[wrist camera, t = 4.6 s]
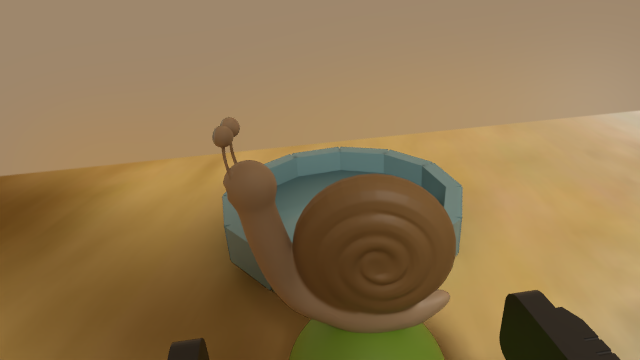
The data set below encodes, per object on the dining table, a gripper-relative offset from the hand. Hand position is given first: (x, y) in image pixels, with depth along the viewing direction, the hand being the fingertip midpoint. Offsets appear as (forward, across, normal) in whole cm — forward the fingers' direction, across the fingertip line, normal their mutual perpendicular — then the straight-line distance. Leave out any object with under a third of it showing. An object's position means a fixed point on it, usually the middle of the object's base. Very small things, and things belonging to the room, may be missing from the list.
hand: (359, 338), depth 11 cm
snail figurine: (+2, 0, +7) cm, 7 cm away
